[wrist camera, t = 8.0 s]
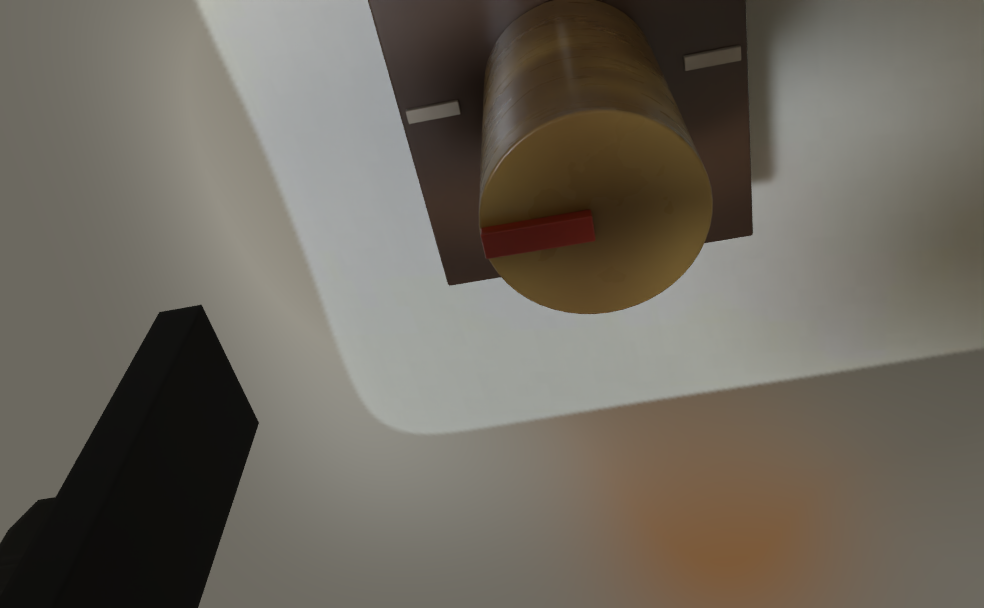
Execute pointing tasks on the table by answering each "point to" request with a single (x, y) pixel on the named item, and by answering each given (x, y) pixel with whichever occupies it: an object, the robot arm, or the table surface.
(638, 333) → the table surface
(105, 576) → the robot arm
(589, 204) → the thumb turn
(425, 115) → the plate
